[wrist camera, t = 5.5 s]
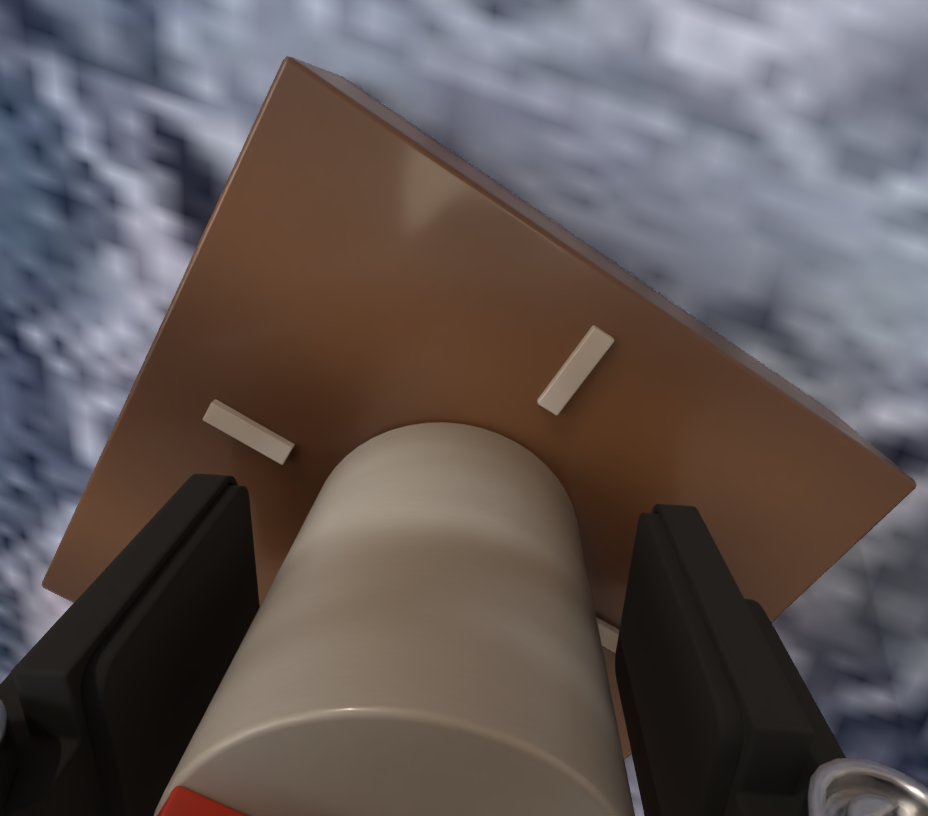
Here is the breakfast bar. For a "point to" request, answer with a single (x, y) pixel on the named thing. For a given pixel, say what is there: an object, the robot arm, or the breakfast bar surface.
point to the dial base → (457, 366)
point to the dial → (419, 651)
